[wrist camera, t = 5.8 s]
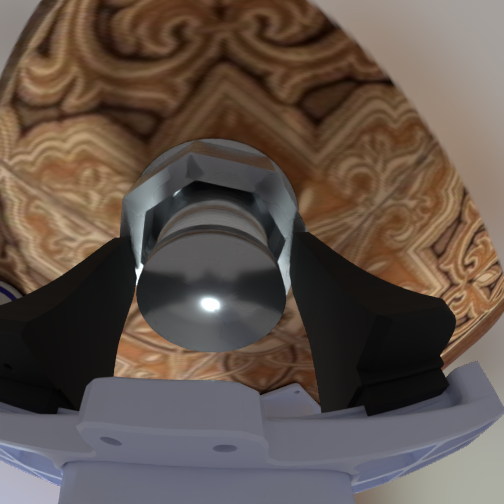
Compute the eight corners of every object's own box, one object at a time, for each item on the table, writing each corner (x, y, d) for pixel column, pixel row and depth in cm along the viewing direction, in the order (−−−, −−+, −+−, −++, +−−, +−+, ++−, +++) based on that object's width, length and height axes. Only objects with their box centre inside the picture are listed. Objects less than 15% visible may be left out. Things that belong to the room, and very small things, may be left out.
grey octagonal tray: (322, 246, 16) (337, 276, 14) (192, 310, 18) (189, 344, 15) (244, 103, 12) (249, 108, 9) (98, 200, 13) (77, 225, 11)
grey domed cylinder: (267, 174, 13) (296, 239, 8) (259, 261, 16) (276, 351, 11) (163, 172, 13) (125, 237, 8) (169, 260, 15) (149, 350, 10)
